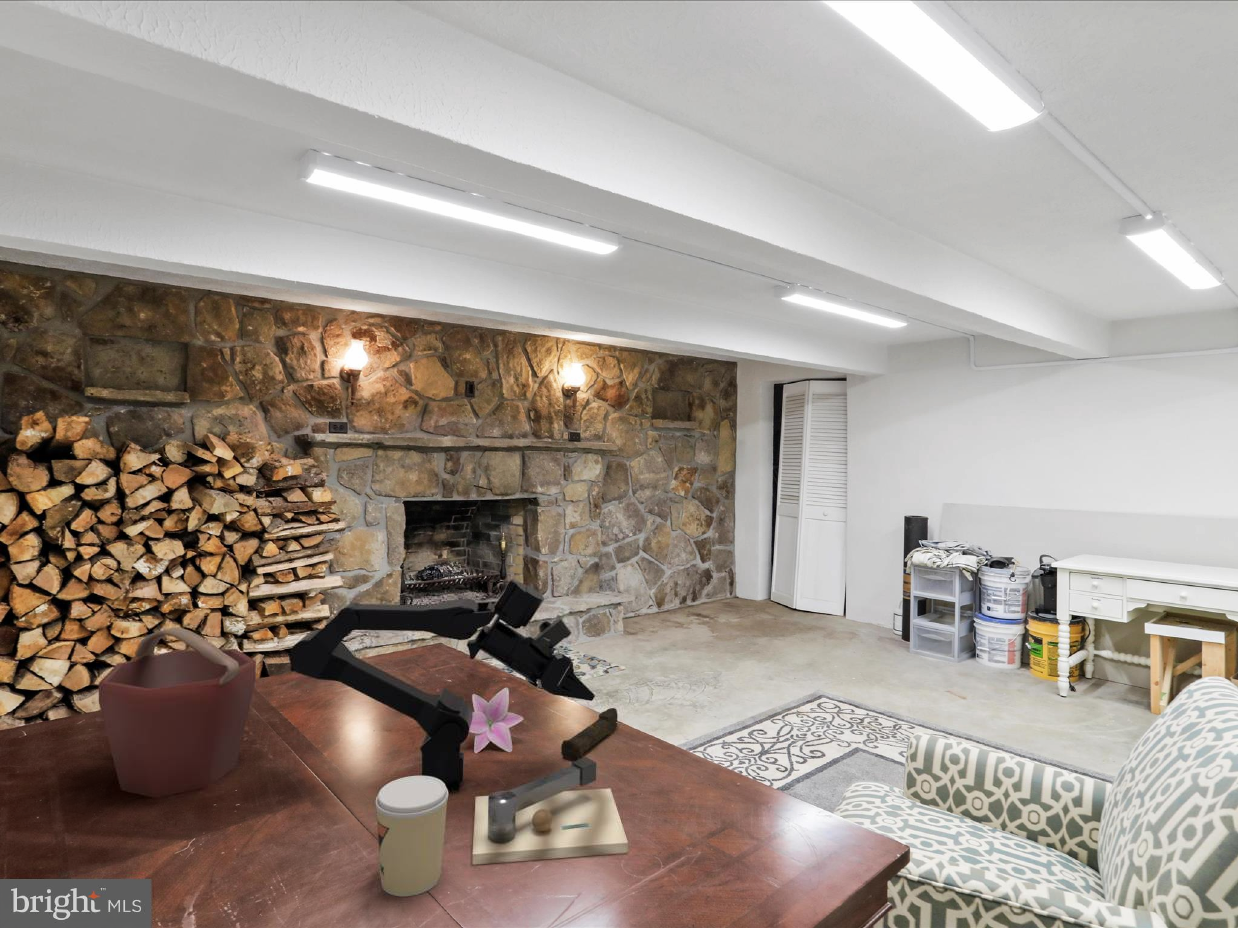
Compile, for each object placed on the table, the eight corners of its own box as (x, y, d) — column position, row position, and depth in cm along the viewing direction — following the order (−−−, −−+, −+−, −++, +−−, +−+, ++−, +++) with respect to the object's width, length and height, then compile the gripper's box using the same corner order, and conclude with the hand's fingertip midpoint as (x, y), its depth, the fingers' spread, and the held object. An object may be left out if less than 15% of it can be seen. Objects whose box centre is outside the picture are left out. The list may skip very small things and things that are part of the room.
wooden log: (577, 764, 130) (578, 740, 130) (559, 759, 132) (560, 734, 132) (628, 730, 147) (629, 708, 147) (611, 725, 149) (612, 703, 149)
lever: (498, 845, 101) (498, 805, 100) (482, 834, 103) (482, 795, 103) (598, 798, 114) (599, 763, 114) (581, 789, 117) (582, 755, 117)
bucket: (271, 777, 122) (272, 633, 121) (117, 826, 106) (118, 661, 105) (222, 734, 139) (222, 608, 138) (82, 771, 123) (82, 628, 122)
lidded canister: (384, 858, 100) (385, 774, 99) (451, 856, 101) (453, 773, 100) (366, 901, 90) (367, 809, 90) (440, 899, 91) (442, 807, 91)
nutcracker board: (472, 864, 99) (473, 832, 99) (475, 805, 115) (476, 778, 114) (627, 852, 103) (628, 822, 102) (610, 797, 118) (610, 770, 118)
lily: (445, 752, 136) (451, 718, 131) (472, 708, 146) (479, 675, 142) (501, 777, 134) (510, 743, 130) (526, 731, 145) (534, 698, 140)
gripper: (546, 605, 116) (625, 656, 117) (528, 609, 133) (597, 653, 135) (508, 667, 112) (590, 718, 114) (495, 662, 129) (567, 706, 131)
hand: (587, 695), depth 123 cm, fingers open, 9 cm apart
